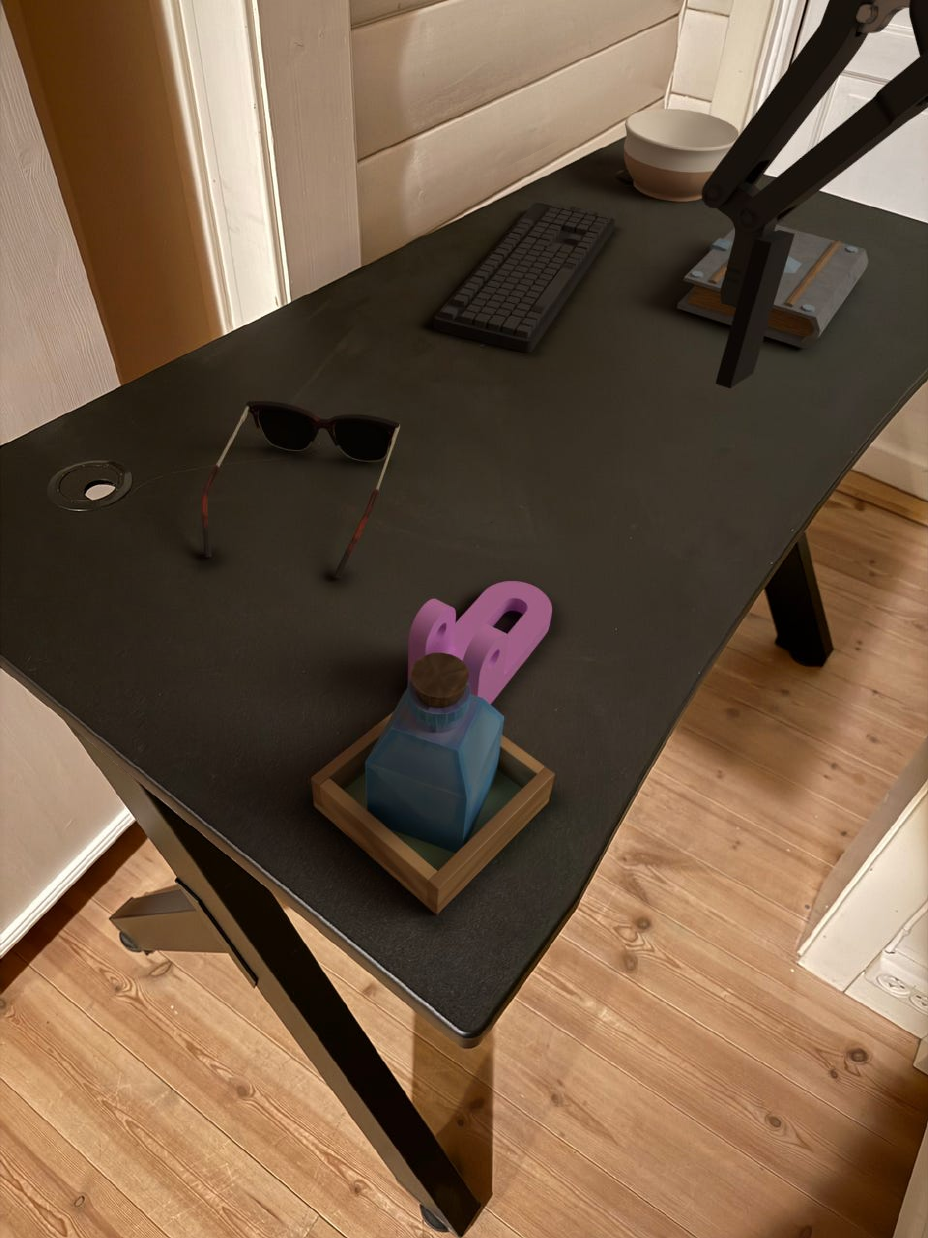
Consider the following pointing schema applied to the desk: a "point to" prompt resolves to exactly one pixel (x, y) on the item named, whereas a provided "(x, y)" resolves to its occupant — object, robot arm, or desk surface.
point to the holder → (415, 861)
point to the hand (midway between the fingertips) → (874, 427)
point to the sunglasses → (300, 428)
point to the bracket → (483, 634)
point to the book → (785, 286)
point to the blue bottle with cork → (435, 756)
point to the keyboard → (526, 277)
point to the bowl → (675, 151)
